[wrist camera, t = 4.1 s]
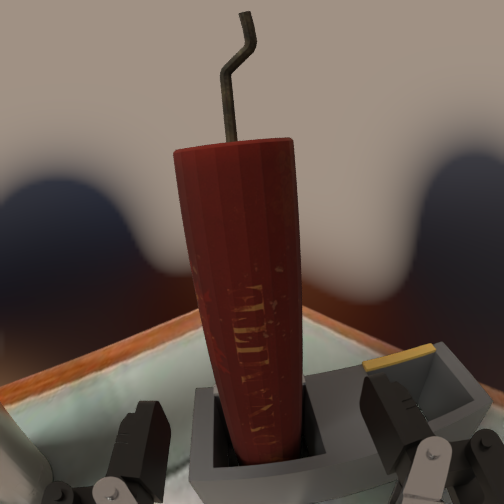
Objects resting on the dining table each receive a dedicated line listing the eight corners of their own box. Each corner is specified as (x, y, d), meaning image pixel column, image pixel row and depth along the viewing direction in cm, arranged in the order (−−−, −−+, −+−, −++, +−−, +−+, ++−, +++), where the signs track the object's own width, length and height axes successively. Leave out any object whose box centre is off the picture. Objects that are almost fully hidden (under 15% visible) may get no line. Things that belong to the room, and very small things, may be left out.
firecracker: (244, 495, 18) (152, 6, 7) (237, 450, 23) (169, 46, 12) (305, 485, 18) (291, -4, 8) (292, 441, 23) (267, 37, 12)
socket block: (211, 513, 16) (187, 479, 14) (211, 436, 24) (194, 385, 22) (461, 449, 17) (494, 398, 14) (424, 392, 25) (443, 338, 22)
